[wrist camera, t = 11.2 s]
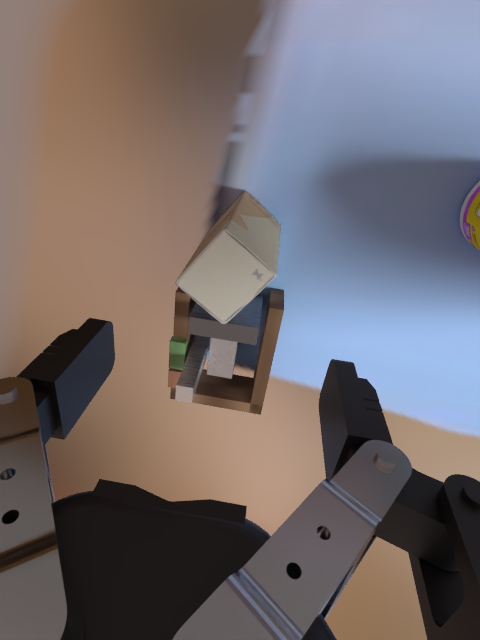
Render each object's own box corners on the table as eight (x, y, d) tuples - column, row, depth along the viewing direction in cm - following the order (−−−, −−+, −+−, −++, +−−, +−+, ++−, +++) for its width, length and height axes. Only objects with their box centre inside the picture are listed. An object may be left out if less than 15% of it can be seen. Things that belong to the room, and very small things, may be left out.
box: (246, 188, 30) (227, 223, 20) (282, 225, 31) (282, 274, 21) (205, 233, 32) (171, 284, 22) (241, 266, 33) (223, 328, 24)
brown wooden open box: (283, 290, 34) (283, 314, 30) (262, 388, 40) (260, 420, 36) (185, 273, 34) (172, 295, 30) (179, 373, 40) (167, 403, 36)
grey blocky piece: (263, 295, 34) (257, 346, 26) (251, 358, 38) (243, 418, 30) (201, 285, 34) (179, 332, 27) (196, 349, 38) (174, 406, 30)
